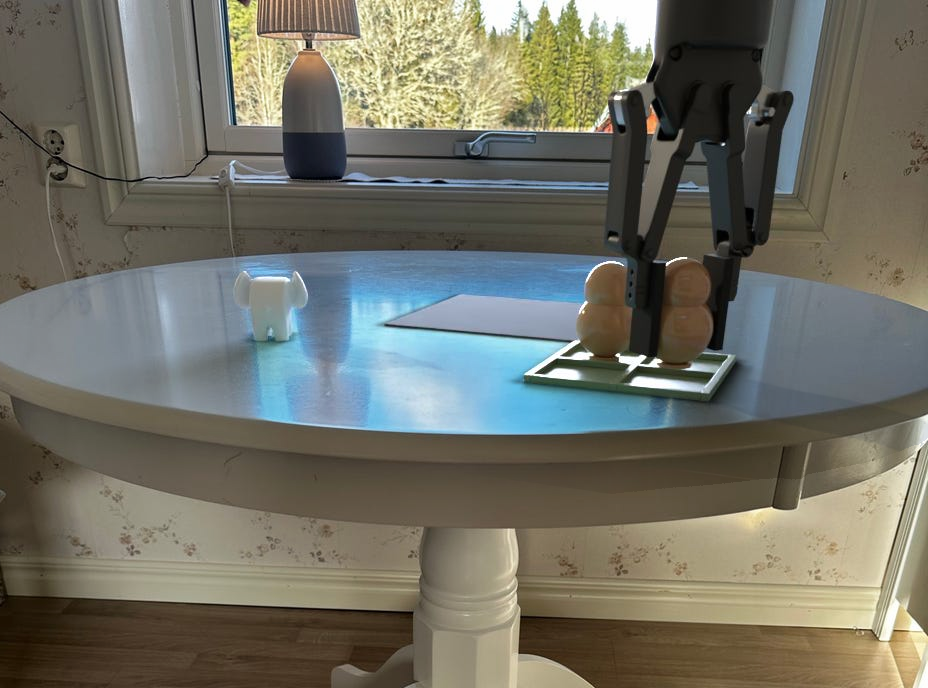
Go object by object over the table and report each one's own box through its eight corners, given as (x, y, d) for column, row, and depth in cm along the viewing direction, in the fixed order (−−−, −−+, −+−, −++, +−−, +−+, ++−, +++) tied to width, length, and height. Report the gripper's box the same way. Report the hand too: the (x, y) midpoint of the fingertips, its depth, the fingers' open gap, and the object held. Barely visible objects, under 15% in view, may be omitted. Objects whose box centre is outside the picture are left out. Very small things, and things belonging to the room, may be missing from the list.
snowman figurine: (640, 355, 83) (650, 260, 79) (626, 367, 78) (636, 267, 75) (582, 349, 84) (589, 256, 81) (565, 361, 80) (572, 263, 76)
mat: (631, 311, 103) (631, 306, 103) (580, 346, 87) (581, 341, 87) (460, 298, 110) (460, 294, 110) (384, 329, 94) (384, 323, 94)
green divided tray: (735, 365, 81) (736, 354, 81) (707, 406, 69) (709, 393, 69) (573, 350, 86) (574, 340, 85) (522, 386, 74) (523, 374, 74)
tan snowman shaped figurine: (714, 361, 74) (727, 255, 70) (702, 375, 70) (716, 263, 66) (647, 355, 76) (657, 252, 72) (632, 370, 72) (641, 260, 68)
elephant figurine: (314, 331, 93) (310, 266, 90) (306, 348, 86) (301, 278, 83) (244, 331, 92) (238, 266, 90) (230, 348, 85) (223, 278, 83)
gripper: (790, -9, 67) (742, 331, 78) (562, -20, 61) (546, 350, 72) (868, -22, 61) (805, 349, 72) (624, -36, 55) (596, 371, 66)
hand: (675, 349), depth 72 cm, fingers closed on tan snowman shaped figurine, 5 cm apart
